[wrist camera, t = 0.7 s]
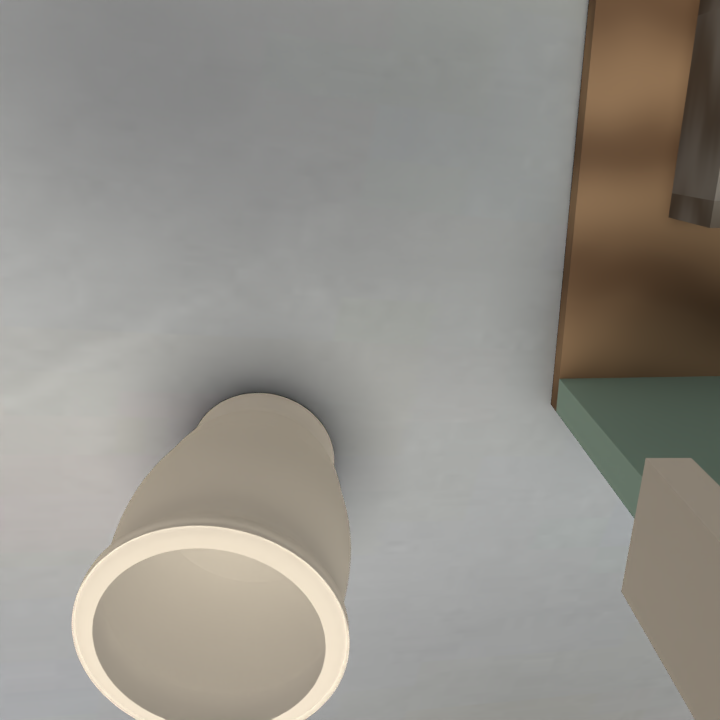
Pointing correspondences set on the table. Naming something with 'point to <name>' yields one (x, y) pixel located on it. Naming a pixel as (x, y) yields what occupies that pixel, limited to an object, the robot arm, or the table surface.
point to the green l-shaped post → (642, 424)
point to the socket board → (644, 196)
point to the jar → (225, 575)
